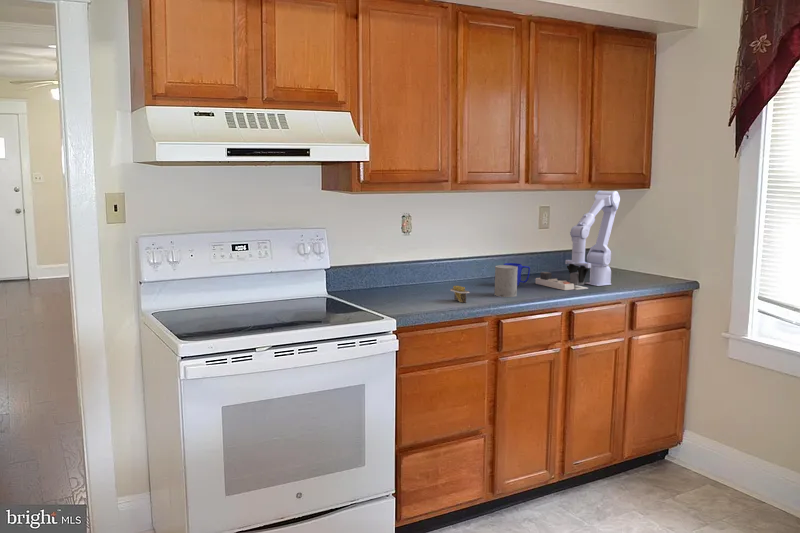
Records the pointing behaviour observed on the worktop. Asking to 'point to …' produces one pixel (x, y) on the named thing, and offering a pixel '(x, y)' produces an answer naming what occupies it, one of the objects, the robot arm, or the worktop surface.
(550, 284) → the power strip
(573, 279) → the block
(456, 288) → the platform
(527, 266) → the mug
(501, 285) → the gray concrete cylinder
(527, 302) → the worktop surface
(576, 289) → the mat
